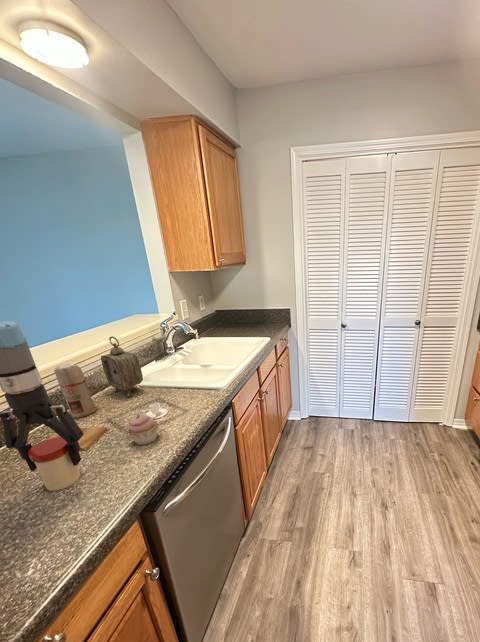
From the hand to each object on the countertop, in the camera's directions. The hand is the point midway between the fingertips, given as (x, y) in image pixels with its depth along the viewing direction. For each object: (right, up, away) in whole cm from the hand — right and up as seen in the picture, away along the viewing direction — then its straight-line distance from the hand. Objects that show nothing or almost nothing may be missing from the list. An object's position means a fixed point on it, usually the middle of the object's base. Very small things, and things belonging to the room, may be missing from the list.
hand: (56, 465), depth 85 cm
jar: (0, -5, +2) cm, 5 cm away
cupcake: (+15, +3, +19) cm, 24 cm away
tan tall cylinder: (-19, +10, +39) cm, 44 cm away
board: (-10, +3, +21) cm, 23 cm away
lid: (0, +5, -2) cm, 6 cm away
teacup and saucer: (+8, +9, +34) cm, 36 cm away
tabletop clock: (-10, +18, +55) cm, 59 cm away
